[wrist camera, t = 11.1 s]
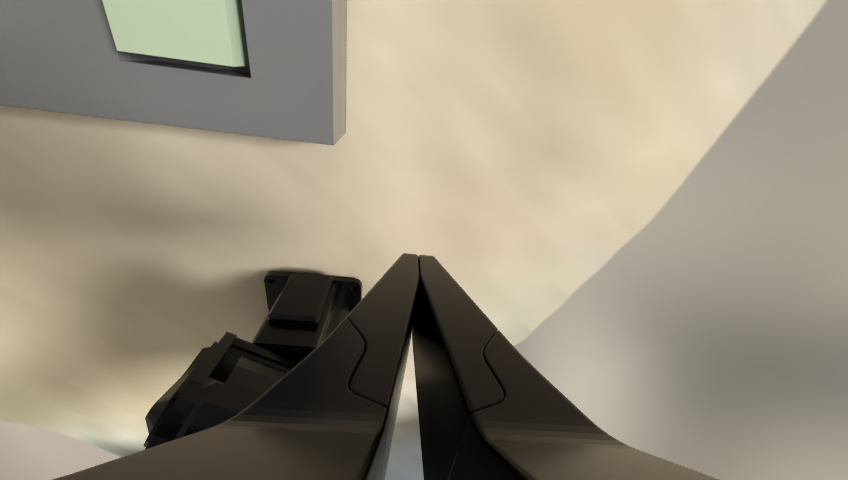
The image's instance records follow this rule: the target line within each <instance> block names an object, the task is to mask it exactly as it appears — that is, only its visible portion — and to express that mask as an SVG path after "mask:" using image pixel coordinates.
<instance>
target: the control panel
mask: <svg viewBox="0 0 848 480" xmlns="http://www.w3.org/2000/svg"><path fill="white" fill-rule="evenodd" d="M242 7H243V16H244V24H245V32H246V40H247V48H248V56H249V64H250V66H238V67H232V66H225V65H218V64H210V63H203V62H196V61H188V60H181V59H174V58H166V57H159V56H152V55H144V54H137V53H130V52H122V51H117V49H116V45H115V42H114V38H113V35H112V32H111V28H110V25H109V22H108V18H107V15H106V11H105V8H104V5H103V1H102V0H0V105H3V106H11V107H19V108H27V109H36V110H44V111H52V112H61V113H69V114H77V115H85V116H94V117H102V118H110V119H119V120H127V121H135V122H143V123H152V124H160V125H168V126H177V127H185V128H193V129H201V130H210V131H218V132H226V133H235V134H243V135H251V136H259V137H268V138H276V139H284V140H293V141H301V142H309V143H318V144H326V145H334V144H335V143H336V142H337V141H338V140H339V139H340V138H341V137H342V136H343V135H344V134H345V132H346V20H347V0H242Z"/></svg>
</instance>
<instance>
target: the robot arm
mask: <svg viewBox="0 0 848 480" xmlns="http://www.w3.org/2000/svg"><path fill="white" fill-rule="evenodd" d="M271 278H274V279H275V280H272V279H271ZM264 282H265V289H266V296H267V303H268V309H269V313H268V315H267V317H266V318H265V320H264V322H263V324H262V325H261V327H260V329H259V331H258V332H257V334H256V336H255V338H254V339H253V341H252V343H250V342H247V341H245V340H242V339H239V338H237V335H234V334H232V333H229V332H226V334H225V335H224V336H223V338H222V339H221V340H220V341H219V343H218V342H214V344H213V345H212V346H211V347H208V348H203V349H202V350H201V352H200V353H199V354H198V356H197V357H196V358H195V360H194V361H193V362H192V364H191V365H190V367H189V368H188V369H187V370H186V372H185V373H184V374H183V375H182V376H181V378H180V379H179V380H178V381H177V382H176V383H175V384H174V385H173V386H172V387H171V388H170V389H169V390H168V391H167V392H166V393H165V394H164V395H163V396H162V397H161V398H160V399H159V400H158V401H157V402H156V403H155V404H154V405H153V407H152V408H151V409H150V411H149V412H148V414H147V416H146V418H145V419H146V423H147V427H148V432H149V436H148V437H147V439H146V441H145V443H144V447H146V449H145V450H142V451H139V452H136V453H133V454H130V455H127V456H124V457H121V458H119V459H115V460H112V461H109V462H106V463H103V464H100V465H97V466H94V467H91V468H88V469H85V470H82V471H79V472H76V473H73V474H70V475H66V476H63V477H60V478H56V479H53V480H384V479H385V474H386V469H387V463H388V458H389V453H390V447H391V442H392V437H393V431H394V426H395V421H396V415H397V410H398V405H399V399H400V394H401V389H402V383H403V378H404V373H405V367H406V362H407V357H408V351H409V346H410V340H411V334H412V341H413V353H414V365H415V377H416V389H417V401H418V413H419V425H420V437H421V449H422V461H423V473H424V480H719V479H716V478H713V477H710V476H708V475H705V474H702V473H699V472H697V471H694V470H691V469H688V468H686V467H683V466H680V465H678V464H675V463H672V462H670V461H667V460H664V459H662V458H659V457H656V456H653V455H651V454H648V453H645V452H643V451H640V450H637V449H635V448H632V447H630V446H628V445H626V444H624V443H622V442H620V441H618V440H616V439H615V438H613V437H612V436H610V435H608V434H607V433H606V432H604V431H603V430H602V429H600V428H599V427H598V426H597V425H595V424H594V423H593V422H592V421H591V420H590V419H588V417H587V416H585V415H584V414H583V413H582V412H581V411H580V410H579V409H578V408H577V407H576V406H575V405H574V404H572V403H571V402H570V401H569V400H568V399H567V398H566V397H565V396H564V395H563V394H562V393H561V392H560V391H559V390H558V389H557V388H555V387H554V386H553V385H552V384H551V383H550V382H549V381H548V380H547V379H546V378H545V377H543V375H541V374H540V373H539V372H538V371H537V370H536V369H535V368H534V367H533V366H532V365H531V364H530V363H529V362H528V361H527V360H526V359H525V358H524V357H523V356H522V355H521V354H520V353H519V352H518V351H517V350H516V348H515V347H514V346H513V345H512V344H511V343H510V342H509V341H508V340H507V339H506V338H505V336H504V335H503V334H502V333H501V332H500V331H497V330H498V329H497V328H496V326H495V325H494V324H493V323H492V322H491V321H490V320H489V318H488V317H487V316H486V315H485V314H484V313H483V312H482V311H481V309H480V308H479V307H478V306H477V305H476V304H475V303H474V301H473V300H472V299H471V298H470V297H469V296H468V295H467V294H466V292H465V291H464V290H463V289H462V288H461V287H460V286H459V284H458V283H457V282H456V281H455V280H454V279H453V278H452V277H451V275H450V274H449V273H448V272H447V271H446V270H445V269H444V268H443V266H442V265H441V264H440V263H439V262H438V261H437V260H436V258H435V257H433V256H427V255H420V256H419V257H418V255H416V254H406V253H404V254H402V255H401V257H400V258H399V259H398V260H397V261H396V262H395V263H394V264H393V265H392V267H391V268H390V269H389V270H388V271H387V272H386V273H385V274H384V276H383V277H382V278H381V279H380V280H379V281H378V282H377V283H376V284H375V286H374V287H373V288H372V289H371V290H370V291H369V292H368V293H367V294H366V296H365V297H364V298H363V299H362V282H361V281H360V280H358V279H354V278H342V277H331V276H322V275H310V274H299V273H286V272H274V271H272V272H269V273H268V274H267V275H266V277H265V278H264ZM352 285H356V286H357V287H353V286H352Z"/></svg>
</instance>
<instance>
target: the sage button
mask: <svg viewBox="0 0 848 480" xmlns="http://www.w3.org/2000/svg"><path fill="white" fill-rule="evenodd" d="M102 1H103V5H104V8H105V11H106V15H107V18H108V22H109V25H110V28H111V32H112V35H113V38H114V42H115V45H116V49H117V51H122V52H130V53H137V54H144V55H152V56H159V57H166V58H174V59H181V60H188V61H196V62H203V63H210V64H218V65H225V66H232V67H238V66H250V64H249V56H248V48H247V40H246V32H245V24H244V16H243V7H242V0H102Z"/></svg>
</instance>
